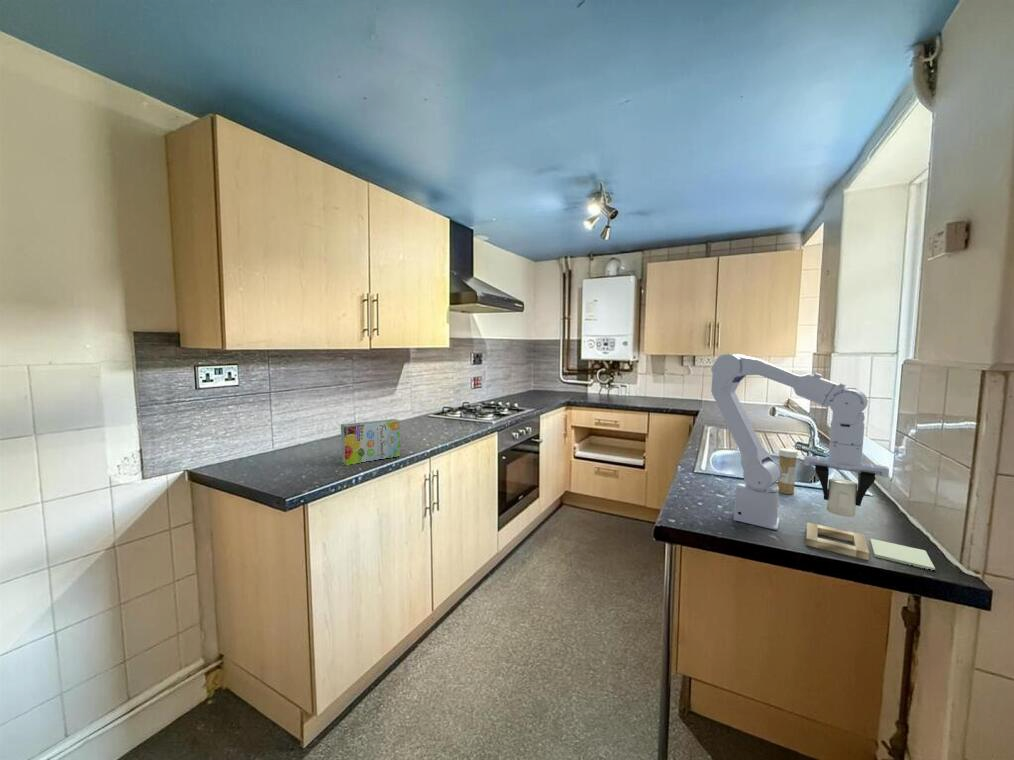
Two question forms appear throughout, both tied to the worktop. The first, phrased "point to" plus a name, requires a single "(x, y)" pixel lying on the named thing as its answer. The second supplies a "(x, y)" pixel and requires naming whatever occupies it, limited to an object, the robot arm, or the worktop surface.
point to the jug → (842, 497)
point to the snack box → (370, 441)
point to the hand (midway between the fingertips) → (841, 501)
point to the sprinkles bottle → (787, 470)
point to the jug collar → (856, 551)
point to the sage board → (901, 554)
